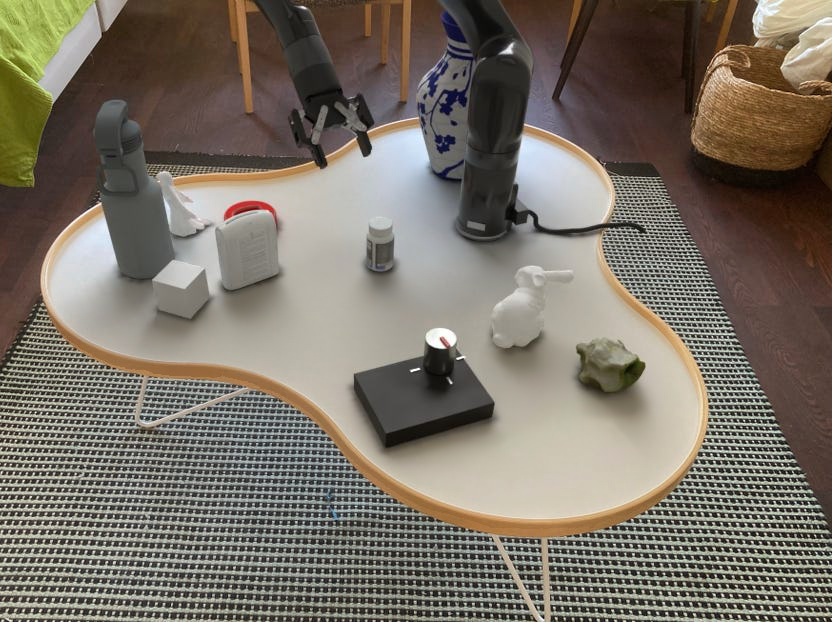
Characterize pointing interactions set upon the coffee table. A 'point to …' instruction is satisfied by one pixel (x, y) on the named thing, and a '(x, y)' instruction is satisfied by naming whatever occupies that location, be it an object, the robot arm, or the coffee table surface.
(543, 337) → the coffee table surface
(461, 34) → the vase
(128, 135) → the water bottle
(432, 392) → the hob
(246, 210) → the decorative ornament
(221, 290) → the coffee table surface
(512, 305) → the rabbit
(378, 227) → the pill bottle
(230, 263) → the photo printer
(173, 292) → the white cube
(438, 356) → the knob
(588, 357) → the greyish green lumpy piece
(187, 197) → the figurine
